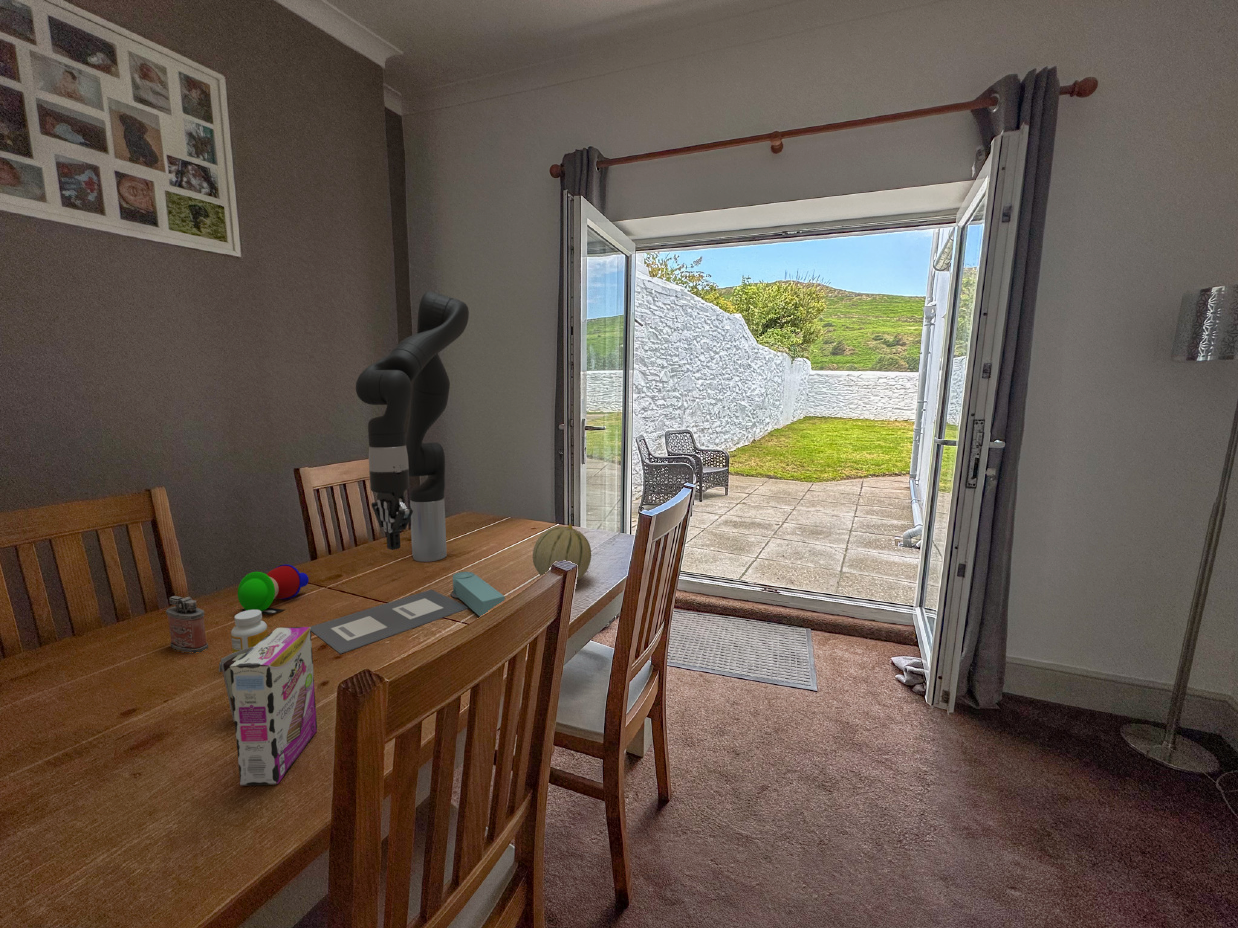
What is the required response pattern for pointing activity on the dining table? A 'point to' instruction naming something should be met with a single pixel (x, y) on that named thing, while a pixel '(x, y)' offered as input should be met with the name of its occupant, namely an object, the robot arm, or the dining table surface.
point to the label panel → (385, 620)
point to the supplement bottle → (248, 630)
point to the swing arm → (475, 592)
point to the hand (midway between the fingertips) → (393, 548)
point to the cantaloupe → (562, 549)
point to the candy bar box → (273, 704)
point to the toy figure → (270, 588)
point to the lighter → (186, 625)
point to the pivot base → (454, 595)
